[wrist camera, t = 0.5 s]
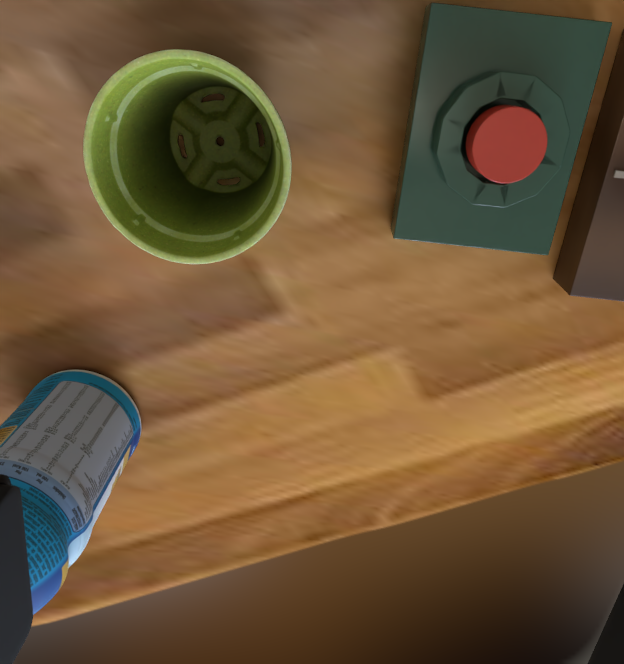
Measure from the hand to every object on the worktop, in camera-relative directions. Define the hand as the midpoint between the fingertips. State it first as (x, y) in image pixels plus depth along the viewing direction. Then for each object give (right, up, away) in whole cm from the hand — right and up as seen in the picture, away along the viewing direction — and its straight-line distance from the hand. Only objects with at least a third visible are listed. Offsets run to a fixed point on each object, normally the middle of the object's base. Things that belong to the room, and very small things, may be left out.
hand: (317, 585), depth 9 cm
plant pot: (-5, +15, +25) cm, 30 cm away
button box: (+10, +15, +24) cm, 30 cm away
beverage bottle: (-16, -2, +34) cm, 37 cm away
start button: (+10, +14, +21) cm, 27 cm away
